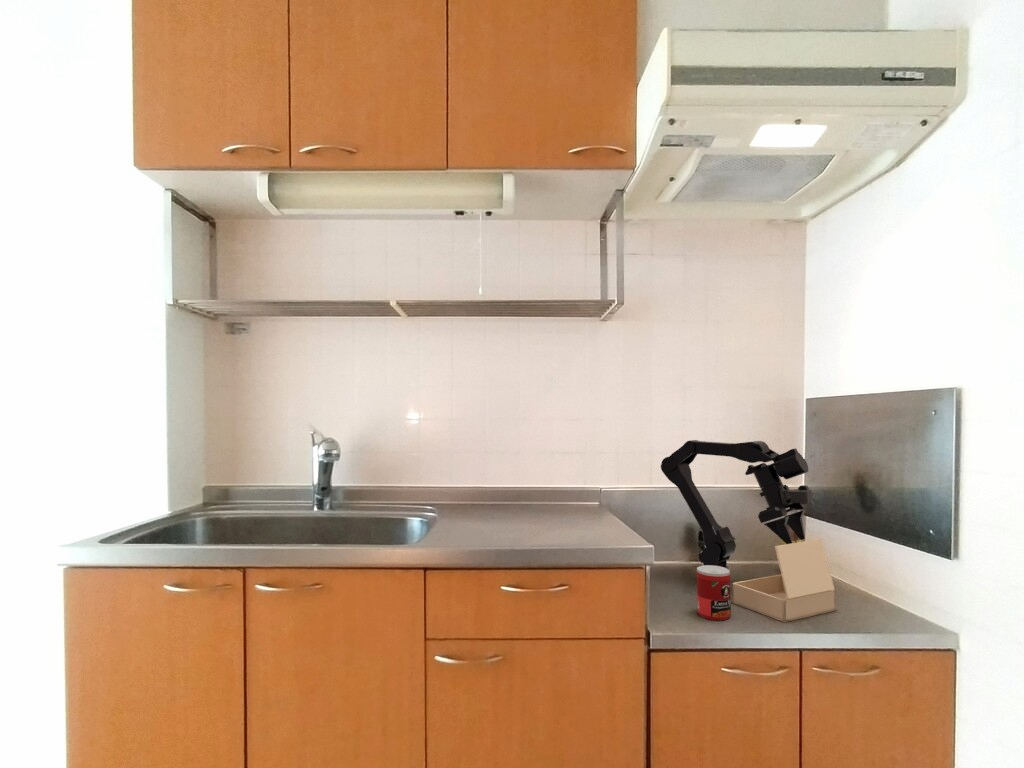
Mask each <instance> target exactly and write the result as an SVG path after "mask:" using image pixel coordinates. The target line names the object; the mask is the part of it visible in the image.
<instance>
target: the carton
mask: <svg viewBox="0 0 1024 768" xmlns="http://www.w3.org/2000/svg"><path fill="white" fill-rule="evenodd" d="M836 592H837V591H836V589H835V588H834V589H833V590H828V591H824V592H819V593H814V594H809V595H804V596H800V597H795V598H790V599H787V597H786V593H785V588H784V584H783V580H782V576H781V573H780V574H775V575H769V576H764V577H758V578H751V579H748V580H743V581H737V582H736V581H735V582H732V583H731V604H734V605H737V606H739V607H742V608H745V609H748V610H750V611H754V612H755V613H759V614H760V615H764V616H767V617H769V618H772V619H775V620H777V621H780V622H783V623H788V622H791V621H796V620H800V619H805V618H810V617H813V616H814V617H815V616H818V615H819V616H820V615H822V614H827V613H828V614H829V613H831V612H835V611H837V598H836V594H837V593H836Z"/></svg>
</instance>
